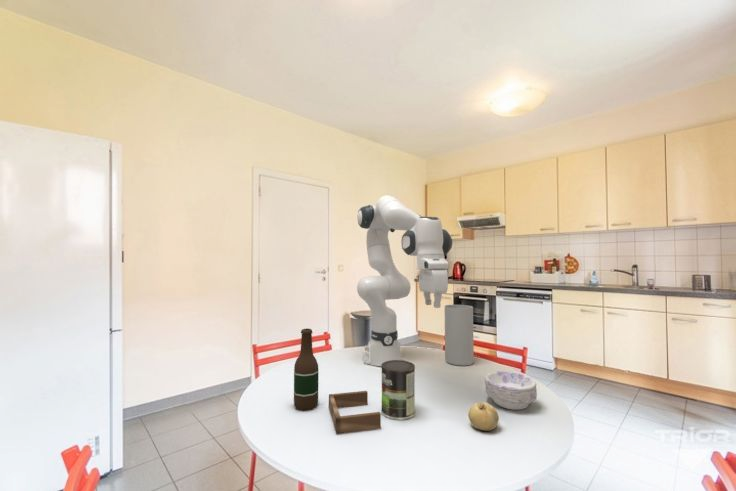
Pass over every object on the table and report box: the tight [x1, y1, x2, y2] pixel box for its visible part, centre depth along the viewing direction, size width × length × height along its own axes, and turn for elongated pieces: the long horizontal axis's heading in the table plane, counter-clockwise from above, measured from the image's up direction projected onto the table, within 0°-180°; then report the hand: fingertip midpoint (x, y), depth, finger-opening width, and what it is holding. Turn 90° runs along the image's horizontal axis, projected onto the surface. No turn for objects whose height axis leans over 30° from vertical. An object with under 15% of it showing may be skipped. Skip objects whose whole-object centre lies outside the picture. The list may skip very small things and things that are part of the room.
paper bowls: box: [484, 370, 538, 411], centre depth 105 cm, size 15×15×8 cm
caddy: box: [328, 390, 382, 435], centre depth 96 cm, size 16×12×4 cm
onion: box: [467, 401, 500, 432], centre depth 91 cm, size 8×8×7 cm
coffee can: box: [380, 360, 416, 421], centre depth 100 cm, size 10×10×14 cm
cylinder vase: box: [444, 304, 475, 367], centre depth 149 cm, size 12×12×25 cm
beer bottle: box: [293, 328, 319, 412], centre depth 104 cm, size 8×8×24 cm
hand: (432, 306), depth 107 cm, fingers open, 8 cm apart
